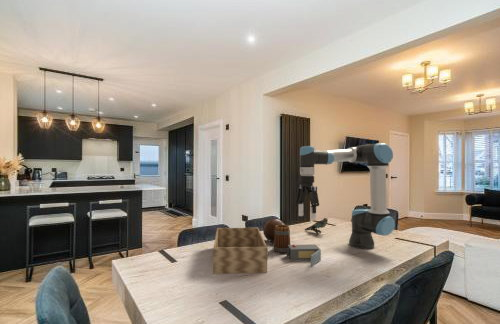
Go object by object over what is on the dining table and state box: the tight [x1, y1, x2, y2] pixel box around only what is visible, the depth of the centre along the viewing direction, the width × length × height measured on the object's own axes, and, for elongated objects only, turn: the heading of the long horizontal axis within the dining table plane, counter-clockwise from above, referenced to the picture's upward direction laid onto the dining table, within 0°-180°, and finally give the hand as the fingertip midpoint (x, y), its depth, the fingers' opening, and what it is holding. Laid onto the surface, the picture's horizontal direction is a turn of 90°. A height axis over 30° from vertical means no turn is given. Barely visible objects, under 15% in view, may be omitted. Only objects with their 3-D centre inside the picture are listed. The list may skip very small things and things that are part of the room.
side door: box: [310, 248, 322, 267], centre depth 137 cm, size 12×1×6 cm, turn 145°
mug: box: [272, 223, 291, 255], centre depth 159 cm, size 16×11×15 cm
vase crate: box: [212, 227, 268, 275], centre depth 144 cm, size 26×40×12 cm, turn 5°
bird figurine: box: [304, 217, 329, 235], centre depth 199 cm, size 13×10×20 cm
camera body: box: [286, 243, 321, 262], centre depth 146 cm, size 17×8×7 cm, turn 95°
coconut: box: [262, 218, 284, 243], centre depth 176 cm, size 15×15×15 cm
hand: (306, 217), depth 139 cm, fingers open, 10 cm apart
